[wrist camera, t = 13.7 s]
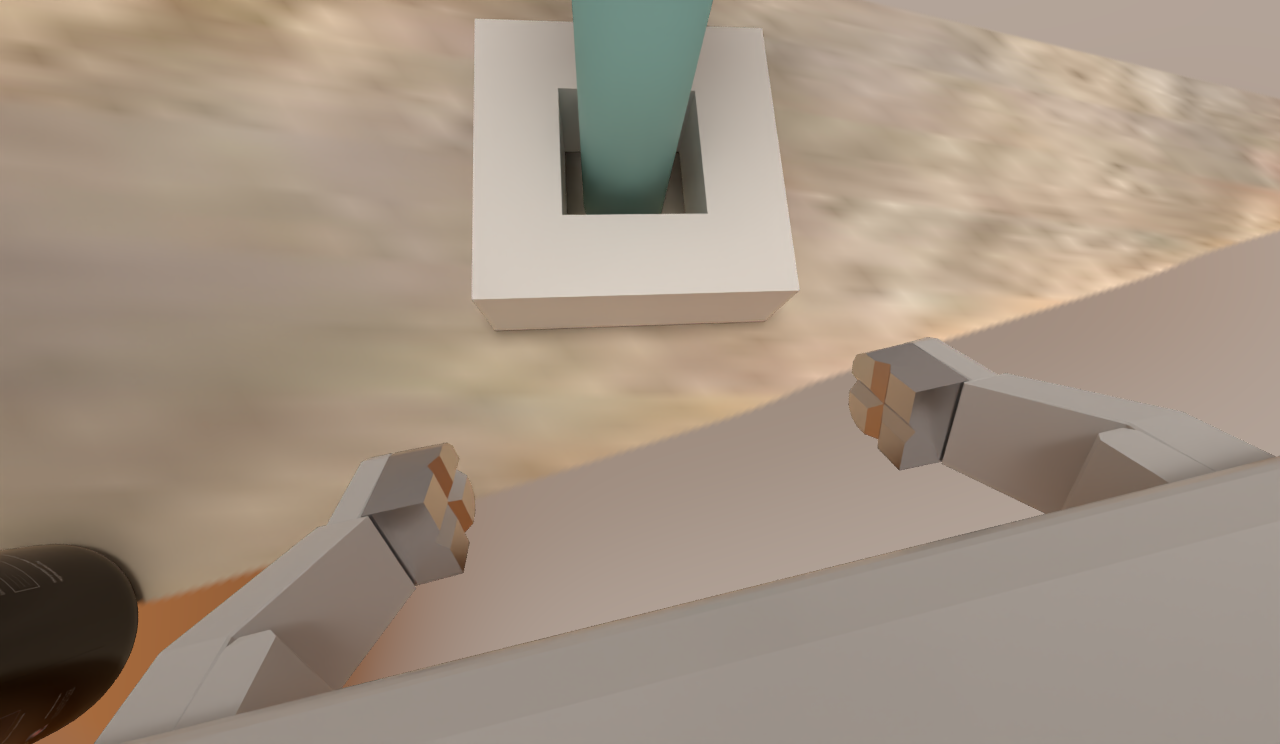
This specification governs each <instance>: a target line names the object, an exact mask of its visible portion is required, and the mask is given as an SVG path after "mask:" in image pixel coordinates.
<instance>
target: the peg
mask: <svg viewBox="0 0 1280 744" xmlns="http://www.w3.org/2000/svg"><path fill="white" fill-rule="evenodd" d="M712 2H713V0H572V11H573V28H574V45H575V62H576V79H577V96H578V113H579V131H580V148H581V165H582V182H583V199H584V208H585V212H586V215H612V214H661V211H662V207H663V203H664V199H665V195H666V191H667V187H668V183H669V179H670V174H671V170H672V166H673V162H674V158H675V154H676V150H677V146H678V142H679V137H680V133H681V129H682V125H683V121H684V117H685V113H686V109H687V105H688V100H689V96H690V92H691V88H692V84H693V80H694V76H695V72H696V68H697V63H698V59H699V55H700V51H701V47H702V43H703V39H704V35H705V31H706V26H707V22H708V18H709V14H710V10H711V6H712Z"/></svg>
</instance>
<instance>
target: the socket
mask: <svg viewBox="0 0 1280 744" xmlns="http://www.w3.org/2000/svg"><path fill="white" fill-rule="evenodd" d="M565 152H581V148H580V131H579V113H578V96H577V79H576V62H575V45H574V28H573V22H561V21H530V20H499V19H475V49H474V138H473V228H472V301H473V302H474V303H475V305H476V306H477V307H478V309H479V310H480V311H481V312H482V314H483V315H484V316H485V318H486V319H487V320H488V322H489V323H490V324H491V326H492V327H493V328H494V330H495V331H497V330H526V329H555V328H584V327H613V326H642V325H671V324H700V323H729V322H758V321H766V320H767V319H768V318H769V317H770V316H771V315H772V314H773V313H775V312H776V311H777V310H778V309H779V308H780V307H781V306H783V305H784V304H785V303H786V302H787V301H788V300H789V299H790V298H792V297H793V296H794V295H795V294H796V293H797V292H798V291H800V289H799V282H798V275H797V268H796V261H795V254H794V247H793V241H792V234H791V227H790V220H789V213H788V206H787V199H786V192H785V185H784V178H783V171H782V164H781V157H780V150H779V143H778V136H777V129H776V122H775V115H774V108H773V101H772V94H771V87H770V80H769V73H768V66H767V59H766V52H765V45H764V38H763V31H762V28H747V27H716V26H706V31H705V35H704V39H703V43H702V47H701V51H700V55H699V59H698V63H697V68H696V72H695V76H694V80H693V84H692V88H691V92H690V96H689V100H688V105H687V109H686V113H685V117H684V121H683V125H682V129H681V133H680V137H679V142H678V146H677V150H676V152H679V153H680V164H681V175H682V186H683V197H684V207H685V214H612V215H567V200H566V172H565Z"/></svg>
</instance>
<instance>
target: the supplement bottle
mask: <svg viewBox="0 0 1280 744" xmlns="http://www.w3.org/2000/svg"><path fill="white" fill-rule="evenodd" d="M137 627H138V606H137V601H136V596H135V593H134V590H133V588H132V586H131V583H130V581H129V580H128V578H127V577H126V575H125V574H124V573H123V571H122V570H121V569H120V568H119V567H118V566H117V565H116V564H115V563H113V562H112V561H111V560H109V559H108V558H107V557H105V556H103V555H101V554H99V553H97V552H95V551H92V550H90V549H87V548H83V547H79V546H74V545H64V544H47V545H36V546H28V547H21V548H14V549H6V550H0V744H33V743H35V742H36V741H38V740H40V739H42V738H44V737H46V736H48V735H50V734H52V733H54V732H56V731H58V730H59V729H61V728H63V727H64V726H66V725H68V724H69V723H71V722H72V721H74V720H75V719H77V718H78V717H79V716H81V715H82V714H83V713H85V712H86V711H87V710H88V709H89V708H91V707H92V706H93V705H94V704H95V703H96V702H97V701H98V700H99V699H100V698H101V697H102V696H103V695H104V694H105V693H106V692H107V690H108V689H109V688H110V687H111V686H112V684H113V683H114V681H115V680H116V679H117V677H118V676H119V674H120V673H121V671H122V669H123V668H124V665H125V664H126V662H127V660H128V658H129V656H130V653H131V651H132V648H133V645H134V642H135V638H136V633H137Z"/></svg>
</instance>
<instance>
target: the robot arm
mask: <svg viewBox="0 0 1280 744" xmlns="http://www.w3.org/2000/svg"><path fill="white" fill-rule="evenodd" d="M852 374H853V375H854V376H855V378H856V379H857V382H856V383H855V384H854V386H853V387H852V388H851V390H850V392H849V404H848V405H849V408H850V412H851V416H852V418H853V420H854V422H855V424H856V425H857V427H858V428H859V429H860V430H861V431H862V432H863V433H864V434H866V435H868V436H871V437H874V438H876V439H878V449H879V450H880V451H881V452H882V453H883V454H884V455H885V456H886V457H887V458H888V459H889V460H890V461H891V462H892V463H893V464H894V466H895V467H896V468H897V469H898V470H904V469H909V468H914V467H919V466H923V465H928V464H933V463H938V462H942V464H943V465H946V466H947V467H949V468H952V469H954V470H956V471H958V472H960V473H962V474H964V475H966V476H968V477H970V478H972V479H974V480H977V481H979V482H981V483H983V484H985V485H987V486H989V487H991V488H993V489H995V490H997V491H999V492H1002V493H1004V494H1006V495H1008V496H1010V497H1012V498H1014V499H1016V500H1018V501H1020V502H1022V503H1024V504H1026V505H1028V506H1031V507H1033V508H1035V509H1037V510H1039V511H1041V512H1043V513H1045V514H1043V515H1039V516H1035V517H1031V518H1027V519H1023V520H1019V521H1015V522H1011V523H1007V524H1003V525H998V526H994V527H990V528H987V529H983V530H979V531H974V532H970V533H967V534H962V535H958V536H954V537H950V538H946V539H942V540H938V541H934V542H930V543H926V544H922V545H918V546H914V547H910V548H906V549H902V550H898V551H894V552H890V553H886V554H882V555H878V556H874V557H870V558H866V559H862V560H858V561H853V562H849V563H846V564H842V565H838V566H833V567H830V568H825V569H822V570H817V571H813V572H809V573H806V574H801V575H797V576H793V577H789V578H785V579H781V580H777V581H773V582H769V583H765V584H761V585H757V586H753V587H749V588H745V589H741V590H737V591H733V592H729V593H725V594H720V595H716V596H713V597H709V598H704V599H700V600H696V601H693V602H688V603H684V604H680V605H676V606H672V607H668V608H664V609H660V610H656V611H652V612H648V613H644V614H640V615H636V616H632V617H628V618H624V619H620V620H616V621H612V622H608V623H603V624H599V625H596V626H591V627H587V628H583V629H579V630H576V631H571V632H567V633H563V634H559V635H555V636H551V637H547V638H543V639H539V640H535V641H531V642H527V643H523V644H519V645H515V646H511V647H507V648H503V649H499V650H495V651H491V652H487V653H483V654H479V655H475V656H470V657H467V658H462V659H459V660H455V661H451V662H446V663H442V664H438V665H434V666H431V667H427V668H422V669H418V670H414V671H410V672H406V673H402V674H398V675H394V676H390V677H386V678H382V679H378V680H374V681H370V682H366V683H362V684H358V685H354V686H350V687H346V688H342V687H343V686H344V684H345V683H346V682H347V680H348V679H349V678H350V676H351V675H352V674H353V672H354V671H355V670H356V668H357V667H358V666H359V664H360V663H361V662H362V660H363V659H364V658H365V656H366V655H367V654H368V652H369V651H370V650H371V648H372V647H373V646H374V644H375V643H376V641H377V640H378V639H379V637H380V636H381V635H382V633H383V632H384V631H385V629H386V628H387V626H388V625H389V624H390V623H391V621H392V620H393V619H394V617H395V616H396V615H397V613H398V612H399V610H400V609H401V608H402V607H403V605H404V604H405V602H406V601H407V600H408V598H409V597H410V596H411V594H412V593H413V592H414V590H415V589H416V587H415V586H417V585H420V584H424V583H428V582H431V581H436V580H439V579H443V578H447V577H451V576H454V575H458V574H462V573H464V568H465V562H466V558H467V553H468V547H469V540H468V538H467V536H466V534H465V532H466V531H467V530H468V529H469V527H470V526H471V525H472V524H473V522H474V516H475V496H474V492H473V489H472V485H471V483H470V480H469V478H468V476H467V475H465V474H464V473H462V472H460V471H458V470H457V465H458V462H459V457H458V455H457V453H456V451H455V449H454V447H453V446H452V445H451V444H449V443H442V444H437V445H431V446H426V447H421V448H416V449H411V450H406V451H401V452H396V453H394V454H393V453H390V454H386V455H381V456H377V457H372V458H368V459H366V460H364V461H362V462H361V464H360V465H359V467H358V469H357V471H356V473H355V474H354V476H353V478H352V480H351V482H350V483H349V485H348V487H347V489H346V491H345V493H344V494H343V496H342V498H341V500H340V502H339V503H338V505H337V507H336V509H335V511H334V512H333V514H332V516H331V518H330V520H329V522H328V523H327V525H325V526H321V527H317V528H316V529H314V530H313V531H312V532H311V533H309V534H308V535H307V536H306V537H304V538H303V539H302V540H301V541H299V542H298V543H297V544H296V545H294V546H293V547H292V548H291V549H289V550H288V551H287V552H286V553H284V554H283V555H282V556H281V557H279V558H278V559H277V560H276V561H274V562H273V563H272V564H271V565H269V566H268V567H267V568H266V569H264V570H263V571H262V572H261V573H259V574H258V575H257V576H256V577H254V578H253V579H252V580H251V581H250V582H248V583H247V584H246V585H244V586H243V587H242V588H241V589H239V590H238V591H237V592H236V593H234V594H233V595H232V596H231V597H229V598H228V599H227V600H226V601H224V602H223V603H222V604H221V605H219V606H218V607H217V608H216V609H214V610H213V611H212V612H211V613H210V614H208V615H207V616H206V617H204V618H203V619H202V620H201V621H199V622H198V623H197V624H196V625H194V626H193V627H192V628H191V629H189V630H188V631H187V632H185V633H184V634H183V635H182V636H180V637H179V638H178V639H177V640H175V641H174V642H173V643H172V644H170V645H169V646H168V647H167V648H165V649H164V650H163V651H162V652H160V654H159V655H158V656H157V657H156V659H155V660H154V662H153V663H152V664H151V666H150V667H149V668H148V670H147V671H146V673H145V674H144V675H143V677H142V678H141V680H140V681H139V682H138V684H137V685H136V686H135V688H134V689H133V691H132V692H131V693H130V695H129V696H128V697H127V699H126V700H125V702H124V703H123V704H122V706H121V707H120V708H119V710H118V711H117V713H116V714H115V715H114V717H113V718H112V719H111V721H110V722H109V724H108V725H107V726H106V728H105V729H104V730H103V732H102V733H101V735H100V736H99V737H98V739H97V740H96V741H95V743H94V744H1280V456H1278V457H1276V456H1274V455H1272V454H1270V453H1267V452H1265V451H1263V450H1261V449H1259V448H1257V447H1255V446H1253V445H1251V444H1249V443H1247V442H1245V441H1242V440H1241V439H1238V438H1236V437H1234V436H1232V435H1230V434H1228V433H1226V432H1224V431H1222V430H1220V429H1218V428H1216V427H1214V426H1211V425H1209V424H1207V423H1205V422H1203V421H1201V420H1199V419H1197V418H1195V417H1193V416H1190V415H1188V414H1187V413H1184V412H1182V411H1177V410H1173V409H1168V408H1164V407H1159V406H1154V405H1150V404H1145V403H1141V402H1136V401H1132V400H1127V399H1122V398H1117V397H1113V396H1108V395H1104V394H1099V393H1095V392H1090V391H1086V390H1081V389H1077V388H1072V387H1067V386H1062V385H1058V384H1053V383H1049V382H1044V381H1040V380H1035V379H1031V378H1026V377H1022V376H1017V375H1012V374H1008V373H1004V374H1000V375H998V374H996V373H994V372H993V371H991V370H989V369H988V368H986V367H984V366H983V365H981V364H979V363H978V362H976V361H974V360H972V359H971V358H969V357H967V356H966V355H964V354H962V353H960V352H959V351H957V350H956V349H954V348H952V347H950V346H949V345H947V344H945V343H944V342H942V341H940V340H939V339H937V338H930V337H927V338H923V339H919V340H915V341H911V342H907V343H904V344H901V345H897V346H892V347H888V348H884V349H879V350H875V351H871V352H866V353H862V354H858V355H856V357H855V359H854V361H853V366H852Z"/></svg>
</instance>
